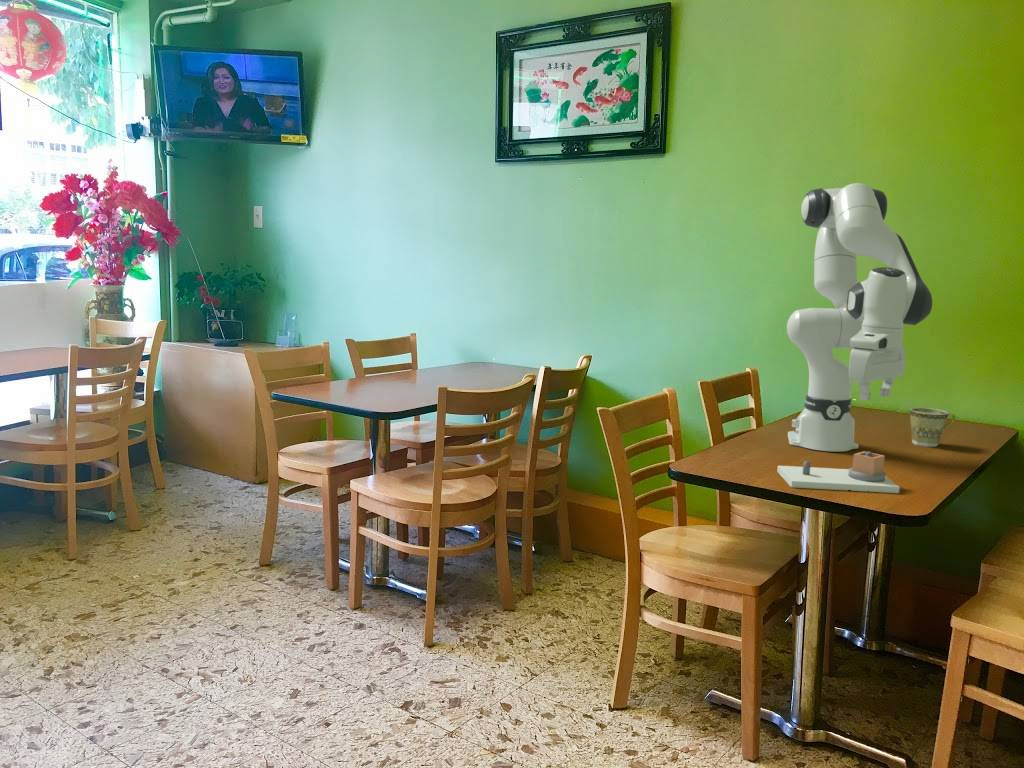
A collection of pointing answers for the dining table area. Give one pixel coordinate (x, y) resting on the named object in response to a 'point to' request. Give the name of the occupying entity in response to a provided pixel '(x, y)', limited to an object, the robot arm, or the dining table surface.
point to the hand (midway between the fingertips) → (874, 397)
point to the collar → (868, 463)
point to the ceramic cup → (928, 425)
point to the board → (836, 478)
